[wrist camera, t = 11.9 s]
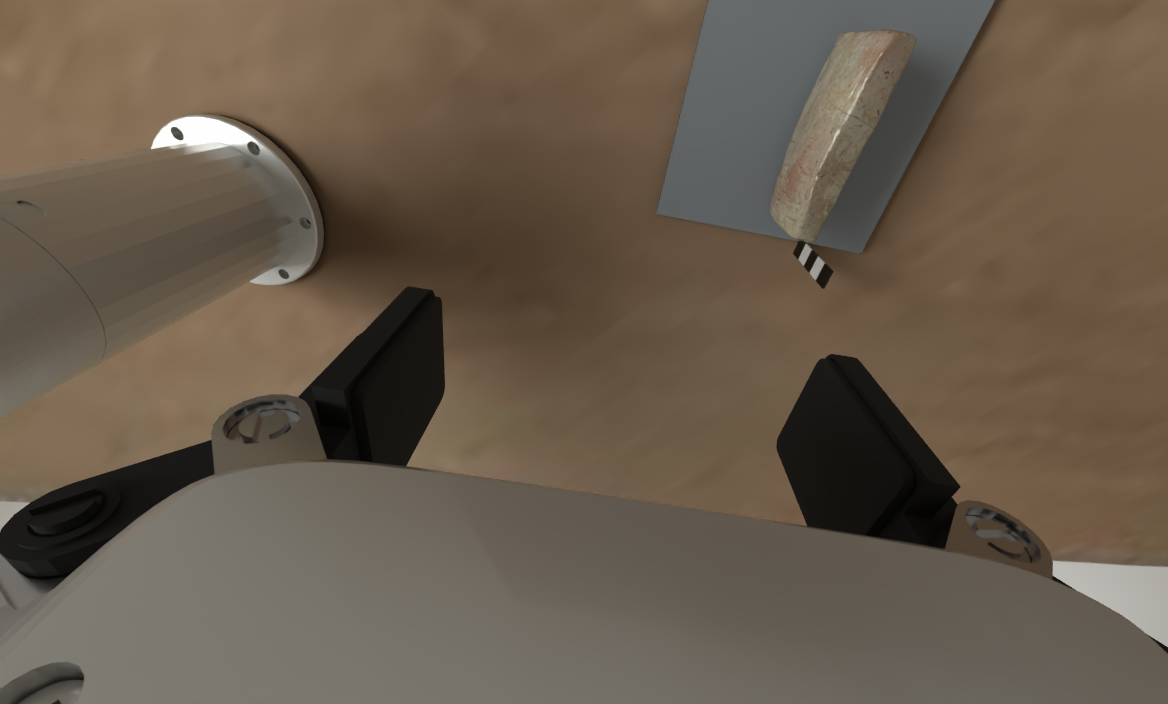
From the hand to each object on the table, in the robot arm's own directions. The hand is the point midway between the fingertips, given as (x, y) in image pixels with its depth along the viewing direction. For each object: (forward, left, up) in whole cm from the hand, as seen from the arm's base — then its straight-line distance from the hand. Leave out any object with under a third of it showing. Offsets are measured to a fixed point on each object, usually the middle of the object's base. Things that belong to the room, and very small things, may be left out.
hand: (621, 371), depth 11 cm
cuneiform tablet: (+10, +3, -22) cm, 24 cm away
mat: (+9, +6, -23) cm, 25 cm away
